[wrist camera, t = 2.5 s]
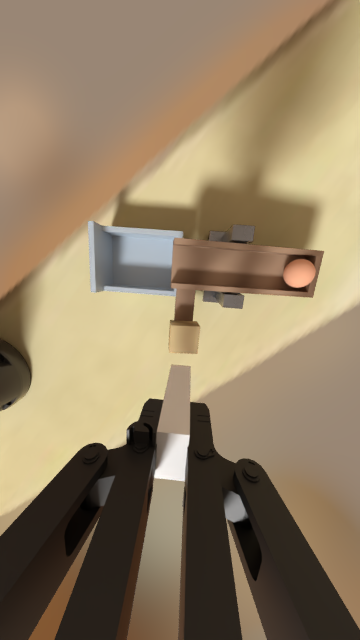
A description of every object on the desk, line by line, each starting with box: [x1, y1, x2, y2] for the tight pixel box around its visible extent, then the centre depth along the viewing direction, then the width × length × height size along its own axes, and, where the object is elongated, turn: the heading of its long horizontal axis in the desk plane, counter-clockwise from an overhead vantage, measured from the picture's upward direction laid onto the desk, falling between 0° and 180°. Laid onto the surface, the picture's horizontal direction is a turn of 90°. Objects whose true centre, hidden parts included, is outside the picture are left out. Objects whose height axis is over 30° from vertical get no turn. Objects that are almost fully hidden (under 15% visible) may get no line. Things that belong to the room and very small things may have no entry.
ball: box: [283, 259, 316, 288], centre depth 24 cm, size 3×3×3 cm
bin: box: [88, 221, 184, 296], centre depth 29 cm, size 12×9×7 cm
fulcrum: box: [203, 225, 255, 309], centre depth 28 cm, size 13×11×10 cm
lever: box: [169, 238, 324, 354], centre depth 26 cm, size 18×14×3 cm
